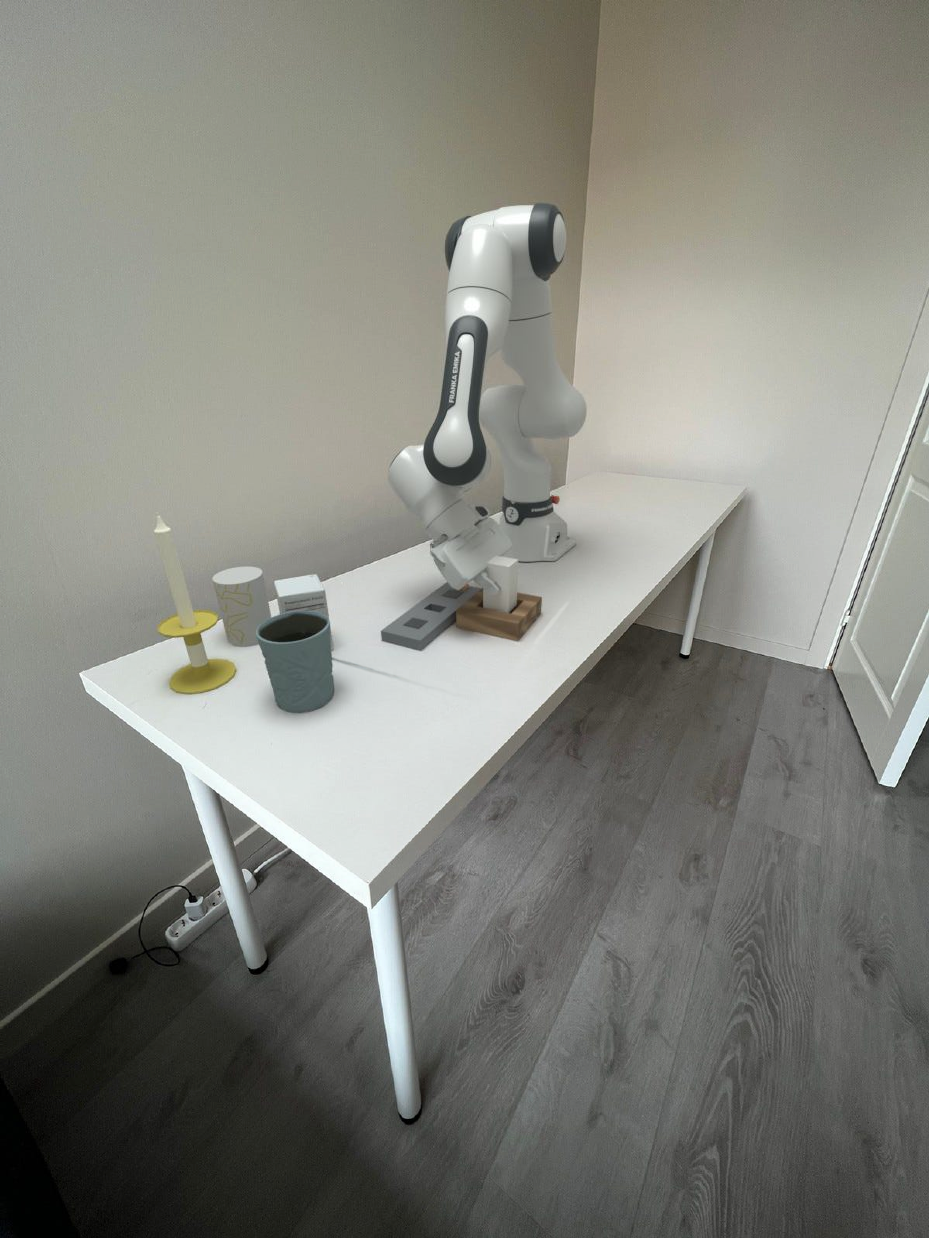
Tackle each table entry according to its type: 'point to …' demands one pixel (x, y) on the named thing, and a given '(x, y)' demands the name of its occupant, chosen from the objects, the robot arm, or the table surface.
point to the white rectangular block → (502, 584)
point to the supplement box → (302, 596)
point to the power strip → (427, 617)
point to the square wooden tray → (499, 616)
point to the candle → (189, 627)
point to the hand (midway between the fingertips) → (503, 587)
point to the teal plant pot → (298, 659)
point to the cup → (242, 603)
